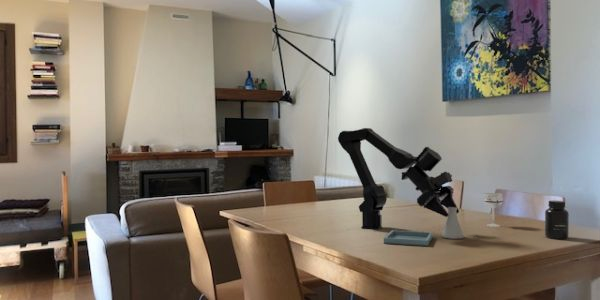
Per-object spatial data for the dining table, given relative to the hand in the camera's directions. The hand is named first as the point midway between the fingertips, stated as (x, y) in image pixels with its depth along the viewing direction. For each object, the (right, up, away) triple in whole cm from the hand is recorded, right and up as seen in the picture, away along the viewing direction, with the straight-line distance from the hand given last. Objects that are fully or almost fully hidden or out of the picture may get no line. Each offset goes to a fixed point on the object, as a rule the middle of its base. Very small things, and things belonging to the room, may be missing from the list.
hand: (453, 214), depth 157 cm
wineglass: (+22, -7, +20) cm, 31 cm away
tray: (-16, -8, -4) cm, 18 cm away
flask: (0, -8, 0) cm, 8 cm away
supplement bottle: (+33, -7, -3) cm, 34 cm away
